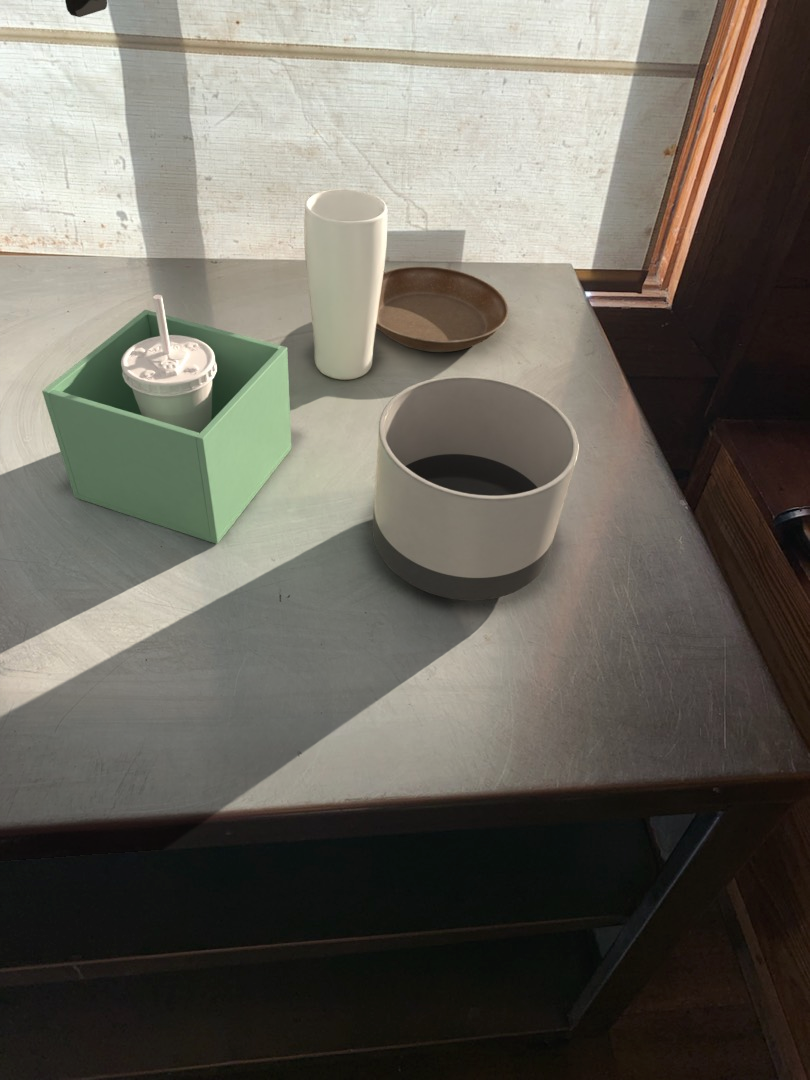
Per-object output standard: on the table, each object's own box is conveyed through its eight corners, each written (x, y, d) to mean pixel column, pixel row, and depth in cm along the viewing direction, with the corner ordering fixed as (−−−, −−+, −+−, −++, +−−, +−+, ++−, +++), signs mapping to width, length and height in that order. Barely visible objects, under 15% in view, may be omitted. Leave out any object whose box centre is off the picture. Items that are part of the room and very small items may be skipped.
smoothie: (221, 435, 64) (201, 273, 54) (234, 485, 60) (216, 320, 50) (139, 446, 63) (103, 282, 53) (147, 499, 58) (110, 331, 48)
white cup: (388, 383, 72) (398, 220, 61) (315, 391, 70) (313, 225, 60) (369, 343, 77) (376, 186, 66) (300, 350, 75) (296, 189, 64)
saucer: (530, 322, 82) (535, 298, 80) (453, 383, 73) (456, 358, 71) (414, 275, 87) (416, 252, 85) (329, 327, 78) (329, 302, 76)
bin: (74, 497, 59) (41, 390, 52) (163, 411, 67) (145, 309, 60) (217, 544, 56) (202, 439, 50) (291, 448, 64) (287, 347, 58)
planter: (341, 572, 55) (343, 456, 48) (414, 468, 64) (426, 356, 56) (514, 639, 52) (545, 526, 45) (566, 521, 61) (600, 409, 53)
